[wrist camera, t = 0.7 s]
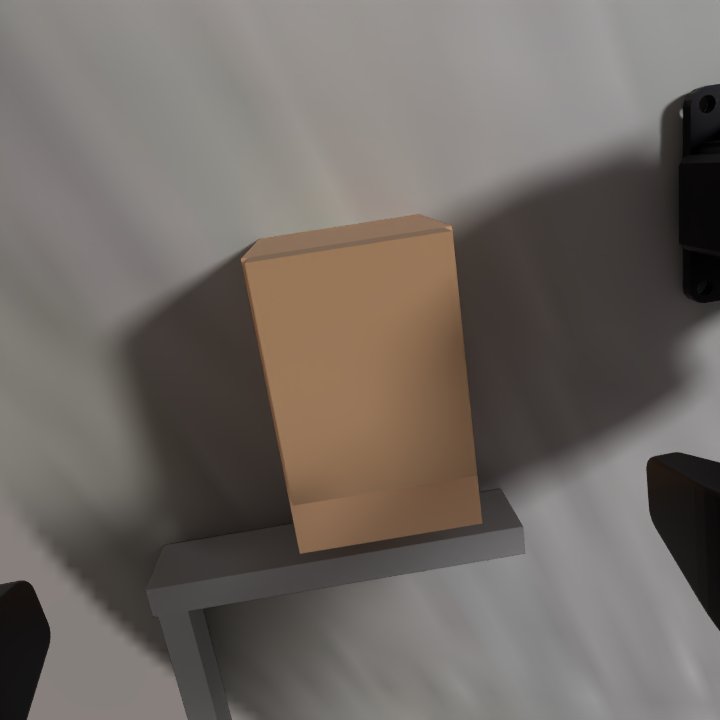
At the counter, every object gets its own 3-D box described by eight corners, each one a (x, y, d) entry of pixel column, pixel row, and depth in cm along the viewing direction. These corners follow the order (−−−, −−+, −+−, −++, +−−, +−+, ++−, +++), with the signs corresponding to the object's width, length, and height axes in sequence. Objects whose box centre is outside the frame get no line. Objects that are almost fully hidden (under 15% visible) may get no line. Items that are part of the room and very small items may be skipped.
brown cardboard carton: (418, 213, 20) (461, 229, 14) (446, 447, 22) (492, 544, 16) (259, 238, 19) (235, 264, 14) (303, 470, 22) (298, 576, 16)
